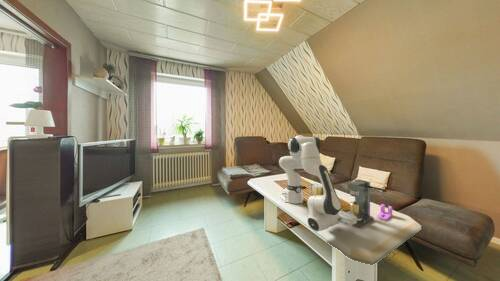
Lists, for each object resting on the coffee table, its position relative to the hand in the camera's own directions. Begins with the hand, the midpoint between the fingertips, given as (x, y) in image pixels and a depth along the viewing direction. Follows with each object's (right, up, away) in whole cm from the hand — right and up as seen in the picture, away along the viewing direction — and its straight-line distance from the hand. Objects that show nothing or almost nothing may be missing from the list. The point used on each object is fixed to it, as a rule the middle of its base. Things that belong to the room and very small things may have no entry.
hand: (344, 210), depth 106 cm
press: (+14, -9, +4) cm, 17 cm away
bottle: (+10, -7, +6) cm, 13 cm away
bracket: (+33, -9, +11) cm, 36 cm away
